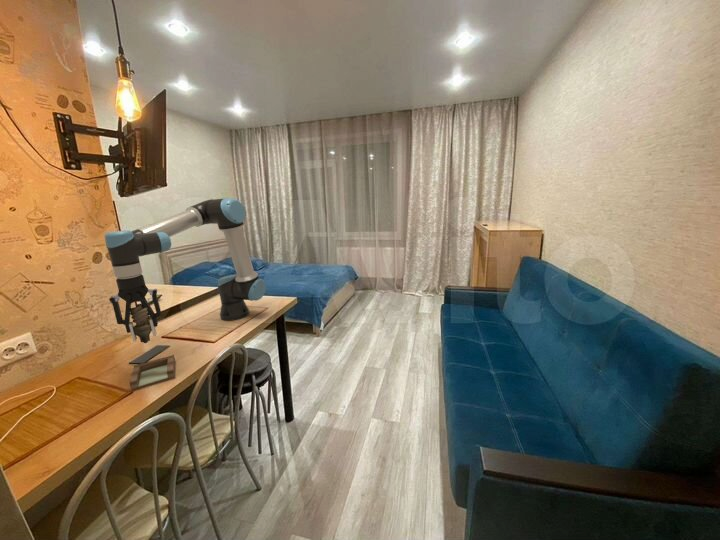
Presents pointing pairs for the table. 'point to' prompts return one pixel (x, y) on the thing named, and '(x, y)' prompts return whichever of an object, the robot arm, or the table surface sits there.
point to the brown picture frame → (152, 372)
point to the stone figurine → (141, 322)
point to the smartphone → (149, 354)
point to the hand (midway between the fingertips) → (145, 337)
